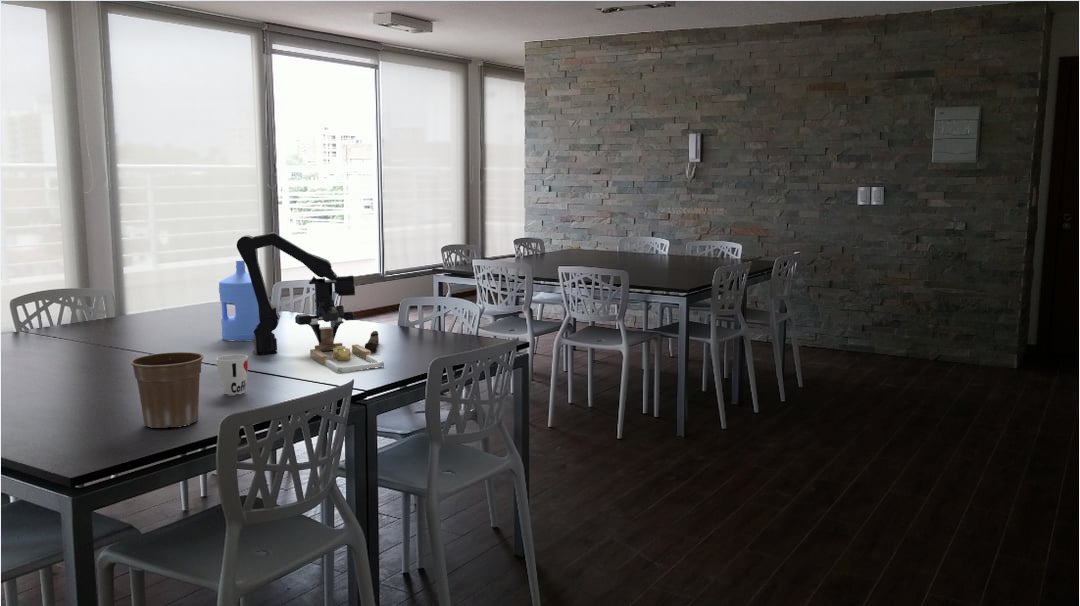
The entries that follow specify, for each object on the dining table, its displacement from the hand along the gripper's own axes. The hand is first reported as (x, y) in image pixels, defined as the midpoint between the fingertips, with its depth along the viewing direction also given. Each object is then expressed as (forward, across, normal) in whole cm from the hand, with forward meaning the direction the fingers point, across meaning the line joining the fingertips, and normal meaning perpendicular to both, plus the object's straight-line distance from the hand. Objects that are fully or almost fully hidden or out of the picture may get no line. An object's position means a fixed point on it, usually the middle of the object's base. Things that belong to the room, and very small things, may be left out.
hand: (326, 342), depth 302 cm
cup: (+3, -39, -44) cm, 59 cm away
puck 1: (+3, 0, -14) cm, 15 cm away
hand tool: (+3, +14, -5) cm, 15 cm away
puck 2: (+3, 0, -19) cm, 19 cm away
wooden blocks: (+2, 0, -16) cm, 16 cm away
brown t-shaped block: (+2, 0, 0) cm, 2 cm away
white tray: (+2, 0, -30) cm, 30 cm away
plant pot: (+3, -58, -66) cm, 88 cm away
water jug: (+3, -19, +37) cm, 42 cm away
